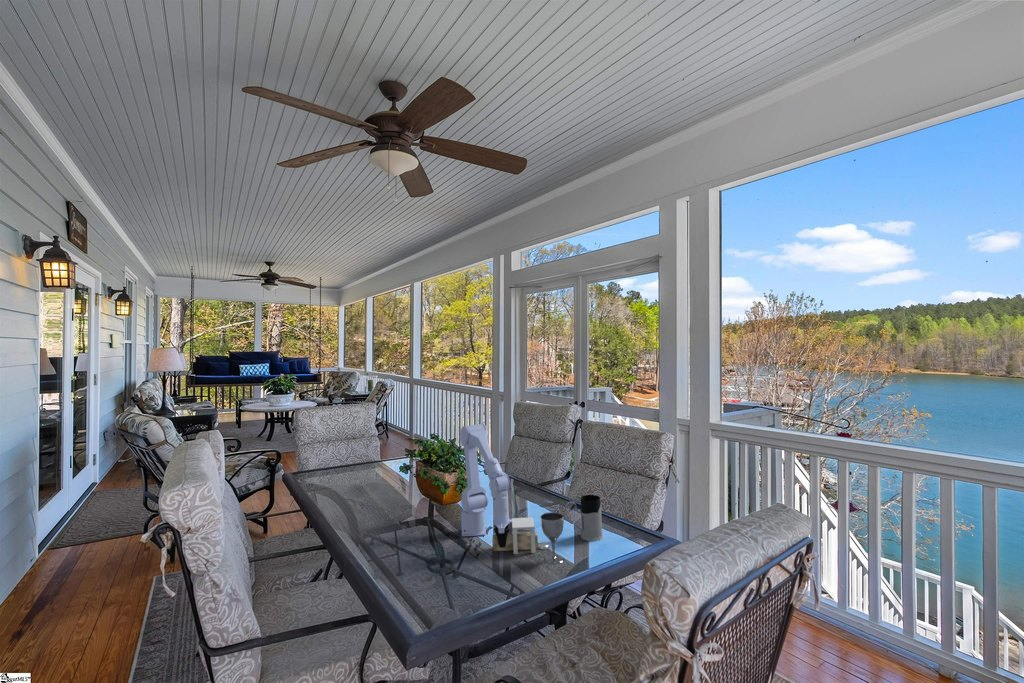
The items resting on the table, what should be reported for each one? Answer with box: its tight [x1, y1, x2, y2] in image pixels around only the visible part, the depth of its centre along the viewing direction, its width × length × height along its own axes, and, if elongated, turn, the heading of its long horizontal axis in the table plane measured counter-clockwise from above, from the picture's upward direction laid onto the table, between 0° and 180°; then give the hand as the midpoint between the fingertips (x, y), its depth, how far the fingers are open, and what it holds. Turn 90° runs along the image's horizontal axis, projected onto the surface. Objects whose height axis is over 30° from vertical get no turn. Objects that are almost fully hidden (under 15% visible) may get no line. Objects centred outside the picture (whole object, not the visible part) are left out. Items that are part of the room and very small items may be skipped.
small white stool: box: [511, 517, 537, 555], centre depth 173 cm, size 8×10×10 cm
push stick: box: [492, 532, 539, 552], centre depth 173 cm, size 16×2×5 cm, turn 91°
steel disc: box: [537, 542, 551, 551], centre depth 173 cm, size 4×4×1 cm
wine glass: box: [540, 511, 565, 565], centre depth 163 cm, size 8×8×15 cm
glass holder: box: [565, 494, 604, 542], centre depth 181 cm, size 9×14×15 cm, turn 90°
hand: (502, 545), depth 173 cm, fingers closed on push stick, 2 cm apart
